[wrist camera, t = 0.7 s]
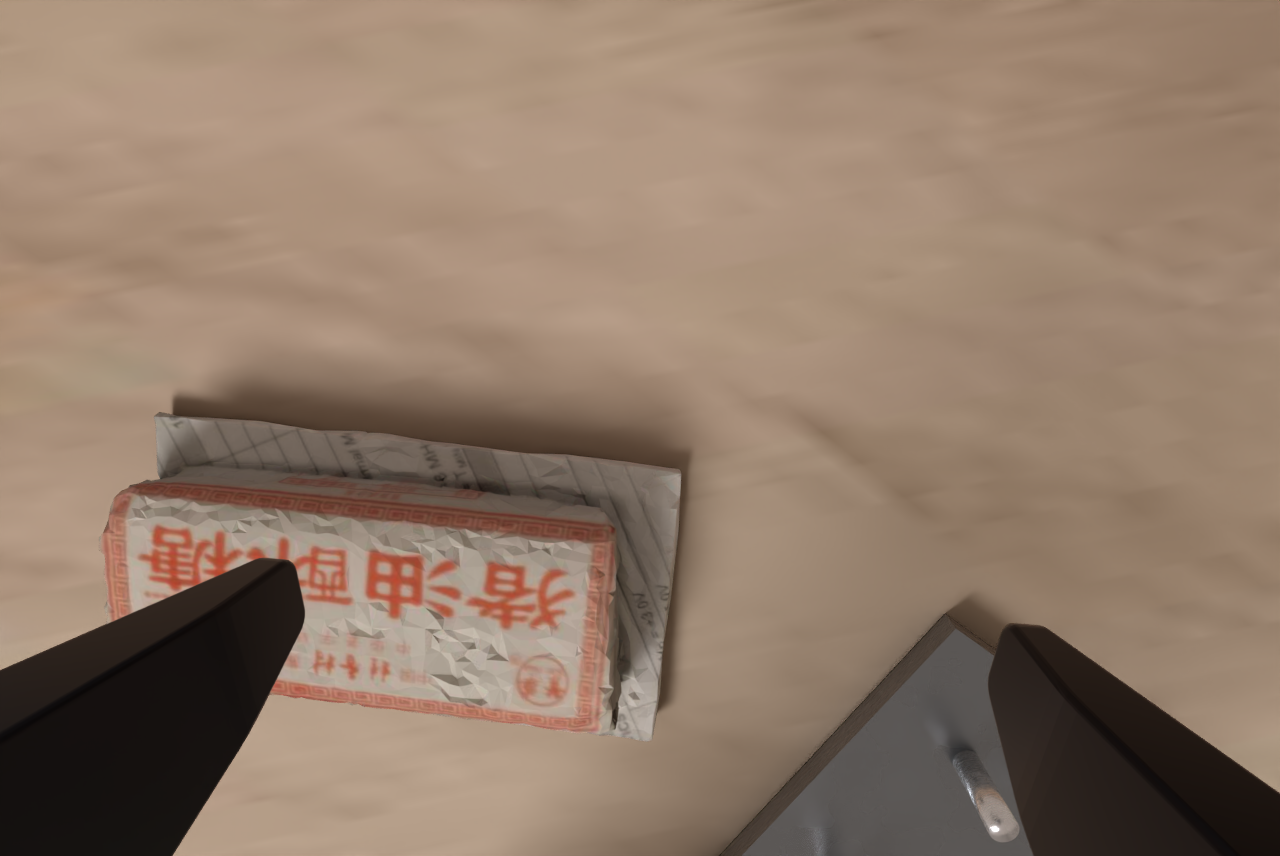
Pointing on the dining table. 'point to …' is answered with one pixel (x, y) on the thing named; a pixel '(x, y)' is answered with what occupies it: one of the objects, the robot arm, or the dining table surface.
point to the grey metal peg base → (904, 769)
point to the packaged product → (422, 566)
